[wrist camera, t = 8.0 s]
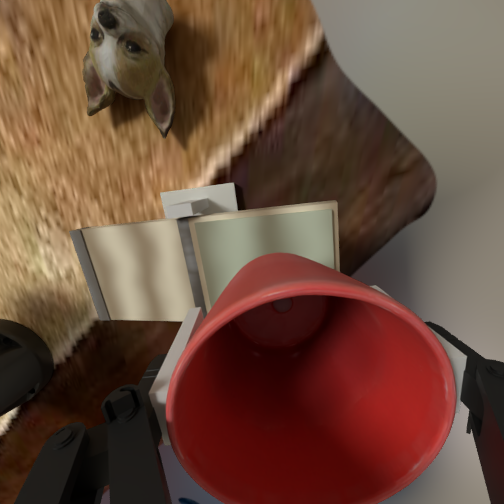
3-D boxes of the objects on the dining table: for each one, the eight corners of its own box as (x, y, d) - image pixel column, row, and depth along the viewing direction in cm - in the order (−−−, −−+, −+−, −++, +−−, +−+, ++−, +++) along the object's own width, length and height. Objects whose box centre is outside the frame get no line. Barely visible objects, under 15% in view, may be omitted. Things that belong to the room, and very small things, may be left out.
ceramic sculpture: (177, -63, 19) (151, 133, 24) (200, 7, 27) (177, 143, 32) (42, -114, 18) (42, 100, 23) (107, -26, 27) (97, 118, 31)
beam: (114, 310, 33) (98, 321, 31) (87, 227, 30) (67, 231, 28) (339, 313, 25) (342, 327, 23) (335, 200, 22) (337, 202, 20)
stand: (189, 307, 38) (166, 355, 27) (163, 192, 33) (122, 195, 22) (310, 291, 38) (335, 334, 27) (302, 173, 33) (328, 167, 22)
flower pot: (349, 220, 16) (486, 266, 7) (349, 354, 19) (445, 513, 10) (197, 237, 16) (129, 305, 7) (220, 367, 19) (193, 536, 10)
